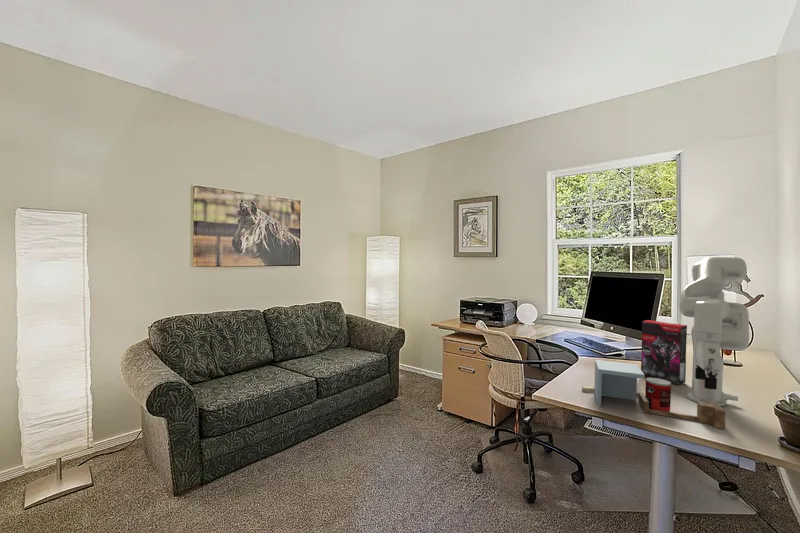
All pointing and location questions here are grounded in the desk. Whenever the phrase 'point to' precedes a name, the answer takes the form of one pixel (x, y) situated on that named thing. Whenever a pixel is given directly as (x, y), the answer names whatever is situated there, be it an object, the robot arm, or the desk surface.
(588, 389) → the dowel
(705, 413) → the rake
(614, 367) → the cubby
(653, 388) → the canned food
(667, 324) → the graphics card box
